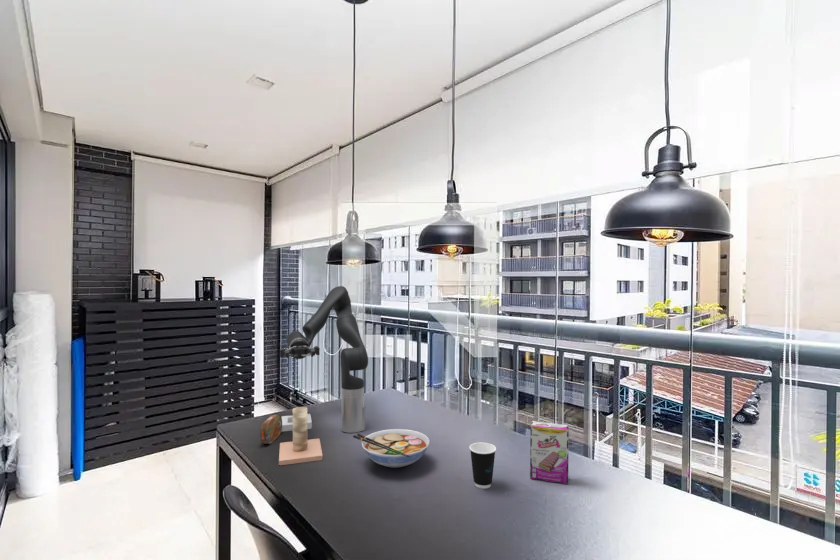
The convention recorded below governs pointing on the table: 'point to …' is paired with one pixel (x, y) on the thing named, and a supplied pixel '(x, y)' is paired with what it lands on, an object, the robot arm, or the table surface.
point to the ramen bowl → (394, 446)
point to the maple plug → (300, 429)
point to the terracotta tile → (300, 453)
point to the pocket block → (288, 423)
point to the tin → (271, 429)
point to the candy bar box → (549, 452)
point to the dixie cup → (482, 463)
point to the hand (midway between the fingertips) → (300, 354)
